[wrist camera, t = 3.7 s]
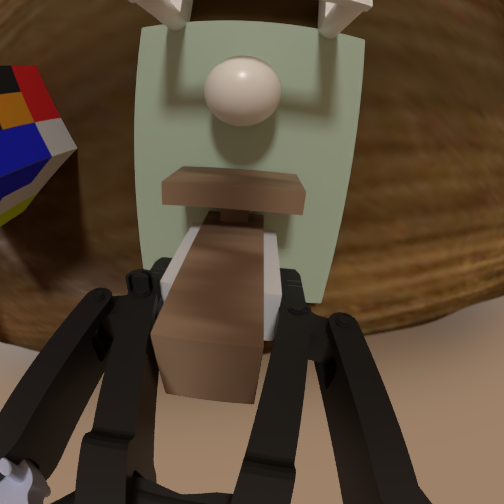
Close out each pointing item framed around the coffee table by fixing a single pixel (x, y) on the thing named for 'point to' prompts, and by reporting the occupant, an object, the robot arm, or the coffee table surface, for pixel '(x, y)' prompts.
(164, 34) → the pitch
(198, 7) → the coffee table surface
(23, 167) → the puzzle toy
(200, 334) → the kicker
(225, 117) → the ball
